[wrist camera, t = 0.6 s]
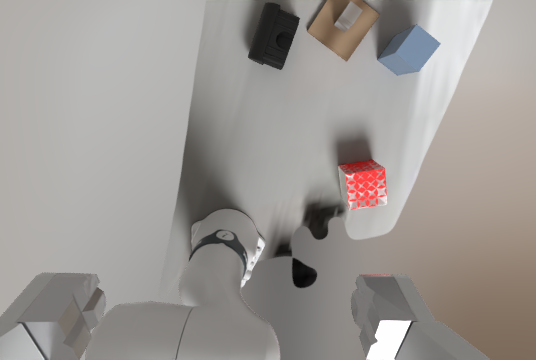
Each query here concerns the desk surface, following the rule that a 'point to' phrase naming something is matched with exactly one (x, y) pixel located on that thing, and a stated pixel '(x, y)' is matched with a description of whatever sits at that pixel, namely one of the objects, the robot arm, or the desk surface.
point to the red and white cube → (363, 184)
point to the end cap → (273, 36)
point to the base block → (343, 25)
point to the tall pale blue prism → (409, 51)
